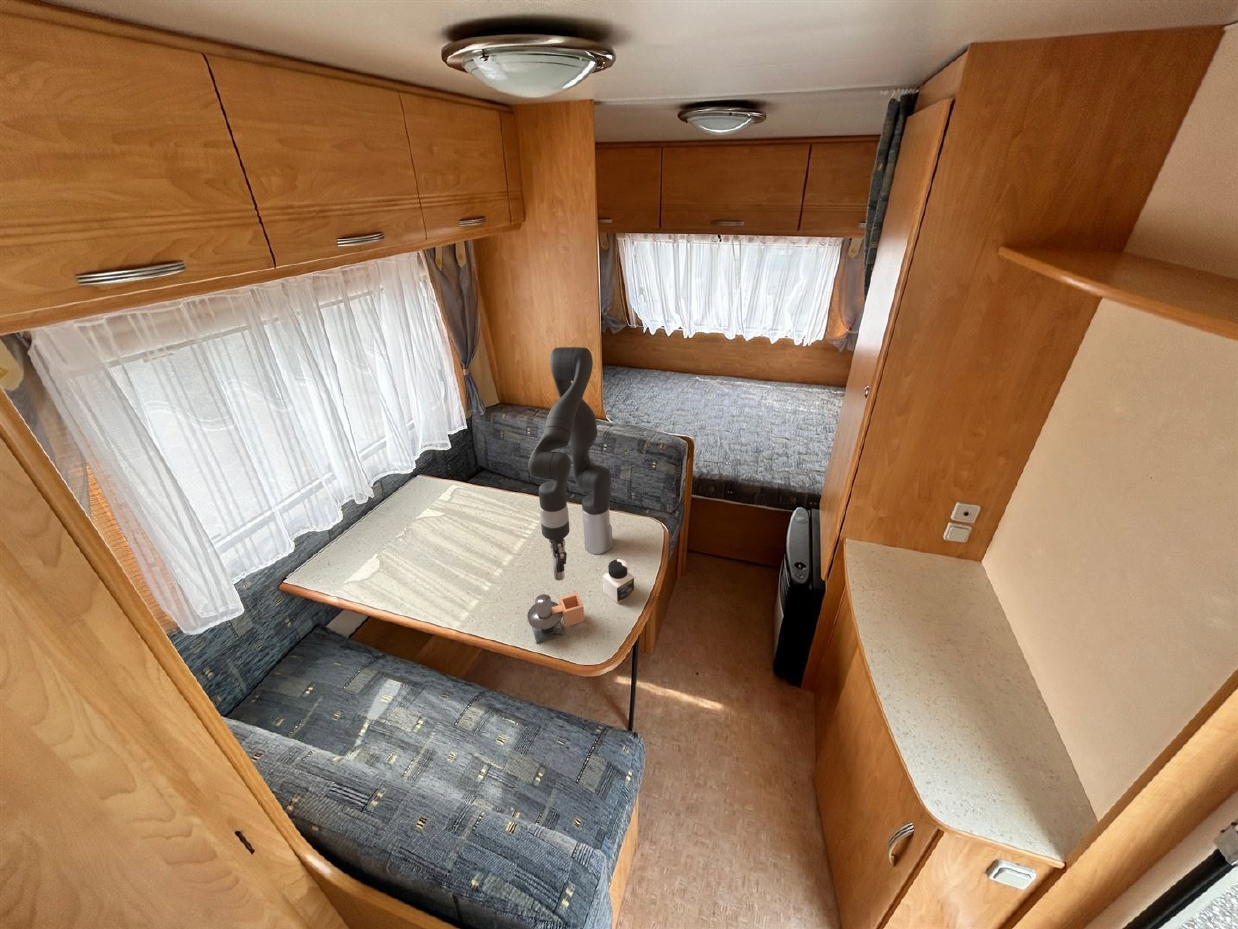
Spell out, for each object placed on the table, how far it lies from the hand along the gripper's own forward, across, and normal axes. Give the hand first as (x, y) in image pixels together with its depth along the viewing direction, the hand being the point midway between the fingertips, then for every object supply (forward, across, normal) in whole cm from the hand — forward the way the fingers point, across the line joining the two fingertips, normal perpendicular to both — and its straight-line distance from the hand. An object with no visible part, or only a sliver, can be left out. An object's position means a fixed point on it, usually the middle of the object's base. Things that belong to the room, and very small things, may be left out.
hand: (559, 567), depth 146 cm
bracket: (+18, -3, -1) cm, 18 cm away
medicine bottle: (+20, +4, -19) cm, 28 cm away
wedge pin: (+4, 0, 0) cm, 4 cm away
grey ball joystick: (+20, -3, +6) cm, 21 cm away
